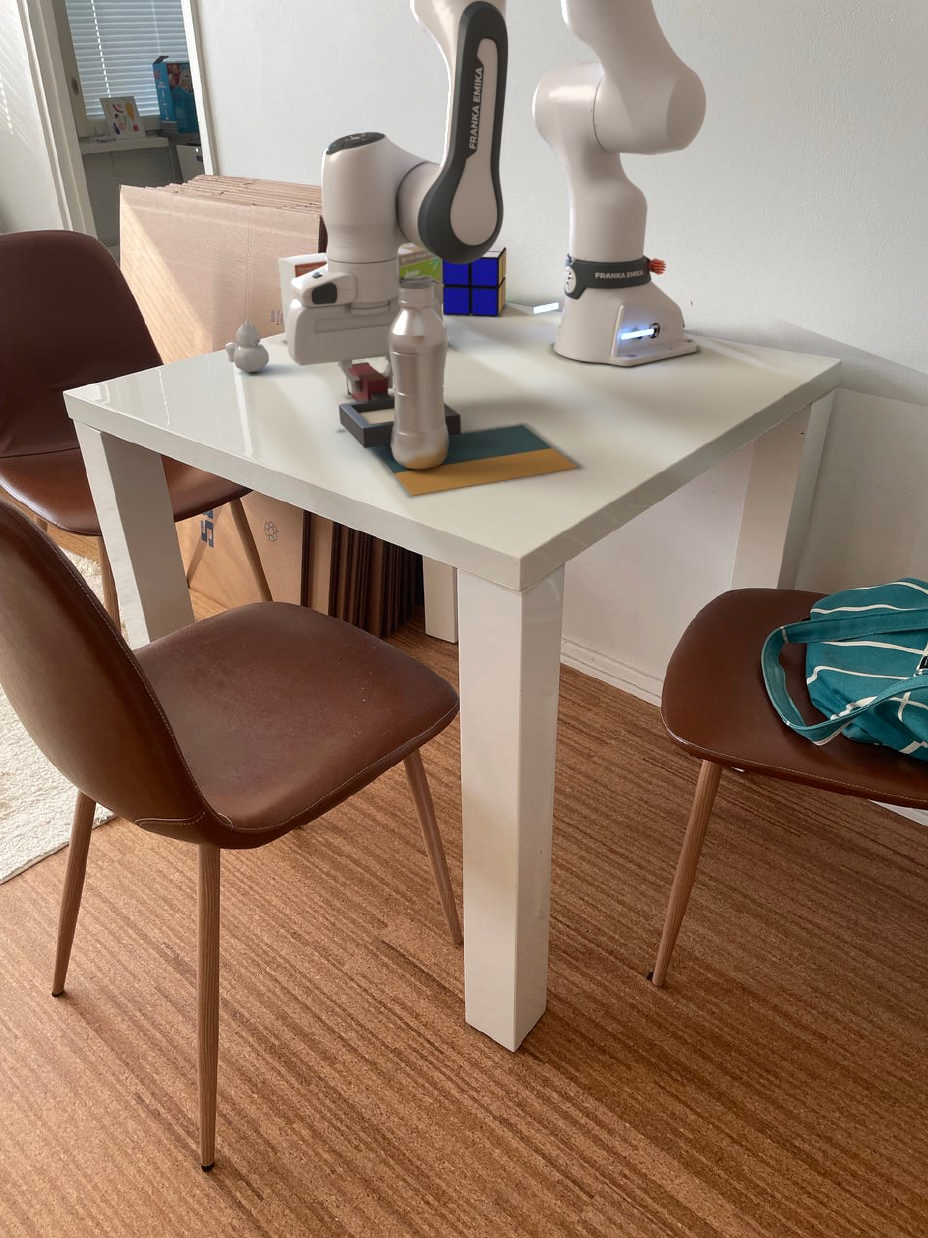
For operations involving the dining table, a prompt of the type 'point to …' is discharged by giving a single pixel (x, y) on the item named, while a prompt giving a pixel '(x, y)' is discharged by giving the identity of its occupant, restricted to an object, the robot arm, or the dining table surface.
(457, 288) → the puzzle cube
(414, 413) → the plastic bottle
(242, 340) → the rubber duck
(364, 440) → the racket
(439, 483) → the mat
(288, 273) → the small box
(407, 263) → the tea box
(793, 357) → the dining table surface
